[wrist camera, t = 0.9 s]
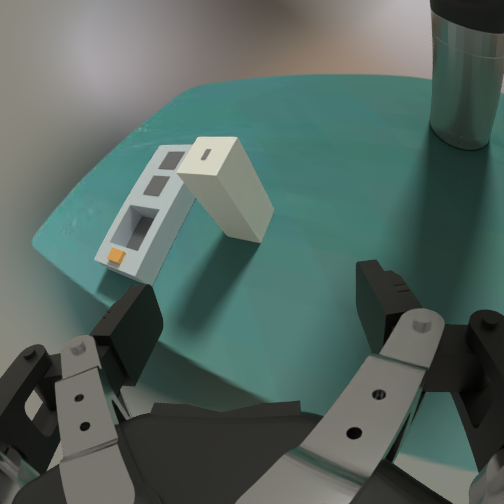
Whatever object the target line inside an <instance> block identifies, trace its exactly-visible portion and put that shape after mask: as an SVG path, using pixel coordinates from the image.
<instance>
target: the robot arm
mask: <svg viewBox="0 0 504 504" xmlns="http://www.w3.org/2000/svg"><path fill="white" fill-rule="evenodd" d="M430 7H431V20H432V43H433V72H432V97H431V112H430V124H431V127H432V129H433V130H434V132H435V133H436V134H437V135H438V136H439V137H440V138H441V139H442V140H443V141H445V142H447V143H448V144H450V145H452V146H455V147H457V148H461V149H466V150H476V149H480V148H482V147H484V146H485V145H486V144H487V143H488V141H489V138H490V135H491V131H492V127H493V123H494V119H495V115H496V111H497V107H498V102H499V97H500V92H501V87H502V80H503V75H504V0H430ZM356 306H357V312H358V315H359V318H360V321H361V323H362V326H363V329H364V331H365V334H366V337H367V340H368V343H369V345H370V348H371V351H372V353H371V354H370V355H369V356H368V357H367V359H366V360H365V362H364V363H363V364H362V366H361V367H360V369H359V370H358V372H357V373H356V375H355V376H354V377H353V379H352V380H351V382H350V383H349V384H348V386H347V387H346V388H345V390H344V391H343V392H342V394H341V395H340V396H339V398H338V399H337V400H336V402H335V403H334V404H333V406H332V407H331V408H330V410H329V411H328V412H327V413H326V415H325V416H321V415H318V414H314V413H309V412H301V407H300V401H291V402H278V403H262V404H258V405H253V406H250V407H245V408H240V409H236V410H231V411H226V412H217V411H213V410H208V409H204V408H199V407H195V406H191V405H187V404H168V403H167V404H165V403H154V405H153V408H152V410H151V413H147V414H142V415H139V416H136V417H132V415H131V412H130V410H129V407H128V405H127V402H126V400H125V397H124V395H123V393H122V391H121V390H120V389H121V387H122V386H123V385H124V386H135V385H136V383H137V381H138V379H139V377H140V375H141V373H142V371H143V369H144V367H145V365H146V363H147V361H148V358H149V356H150V355H151V353H152V351H153V349H154V347H155V344H156V343H157V341H158V339H159V337H160V335H161V333H162V330H163V317H162V314H161V311H160V308H159V305H158V302H157V299H156V296H155V293H154V290H153V288H152V286H151V285H150V284H142V285H132V286H131V287H130V288H129V289H128V291H127V292H126V293H125V294H124V296H123V297H122V298H121V299H120V300H118V301H117V302H116V303H114V304H113V305H112V306H111V308H110V309H109V310H108V311H107V313H106V314H105V315H104V317H103V319H101V320H100V322H99V323H98V324H97V325H96V327H95V328H94V329H93V331H92V332H91V333H90V335H89V336H88V335H83V336H78V337H76V338H74V339H72V340H70V341H68V342H67V343H66V344H65V345H64V346H63V348H62V350H61V353H59V354H54V355H49V354H48V353H47V351H46V349H45V348H44V346H43V345H39V344H37V345H33V346H30V347H28V348H26V349H25V350H24V351H22V352H21V353H20V354H19V356H18V357H17V358H16V359H15V360H14V362H13V363H12V364H11V366H10V367H9V368H8V369H7V371H6V372H5V373H4V375H3V376H2V377H1V378H0V504H453V503H451V502H450V501H448V500H447V499H445V498H443V497H442V496H440V495H439V494H437V493H436V492H434V491H432V490H431V489H430V488H428V487H427V486H425V485H424V484H422V483H421V482H419V481H417V480H416V479H414V478H413V477H412V476H410V475H409V474H407V473H406V472H404V471H403V470H402V469H400V468H399V467H397V466H396V465H395V464H393V463H394V461H395V459H396V457H397V455H398V453H399V451H400V449H401V447H402V445H403V443H404V441H405V439H406V437H407V434H408V432H409V430H410V428H411V426H412V424H413V422H414V420H415V418H416V416H417V414H418V411H419V409H420V407H421V405H422V402H423V400H424V398H425V395H426V393H427V392H450V393H451V395H452V397H453V400H454V403H455V405H456V408H457V410H458V413H459V415H460V418H461V421H462V424H463V426H464V429H465V432H466V435H467V438H468V441H469V444H470V447H471V450H472V453H473V456H474V459H475V462H476V465H477V469H478V472H479V474H478V475H477V476H476V477H475V479H474V480H473V481H472V483H471V485H470V489H469V504H504V316H503V315H502V314H500V313H498V312H496V311H492V310H479V311H476V312H474V313H473V314H472V315H471V316H470V319H469V323H468V325H450V324H445V322H444V319H443V318H442V316H441V315H439V314H438V313H437V312H435V311H432V310H429V309H423V308H422V306H421V305H420V303H419V302H418V300H417V299H416V297H415V296H414V294H413V293H412V292H411V291H410V289H409V287H408V286H407V285H406V283H405V282H404V280H403V279H402V278H401V276H399V275H398V274H396V273H394V272H393V271H391V270H390V271H384V270H383V269H382V267H381V266H380V264H379V263H378V261H377V260H368V261H360V262H357V263H356ZM33 390H35V392H36V393H37V394H38V396H39V397H40V399H41V400H42V401H43V403H42V405H41V407H40V408H39V410H38V412H37V414H36V415H35V417H34V419H33V420H32V421H31V420H30V419H29V417H28V416H27V415H26V412H25V407H24V406H25V402H26V401H27V399H28V397H29V396H30V394H31V393H32V391H33ZM60 440H61V444H62V449H63V459H62V460H61V461H60V464H58V465H56V466H55V467H53V468H51V469H50V470H48V471H47V468H48V466H49V464H50V462H51V459H52V457H53V455H54V453H55V451H56V449H57V447H58V445H59V443H60ZM46 471H47V472H46Z"/></svg>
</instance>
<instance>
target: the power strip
mask: <svg viewBox="0 0 504 504" xmlns="http://www.w3.org/2000/svg"><path fill="white" fill-rule="evenodd" d="M192 146H193V145H160V146H159V148H158V149H157V151H156V152H155V154H154V155H153V157H152V159H151V160H150V162H149V163H148V165H147V166H146V168H145V169H144V171H143V173H142V174H141V176H140V177H139V179H138V181H137V182H136V184H135V186H134V187H133V189H132V191H131V192H130V194H129V196H128V197H127V199H126V201H125V203H124V204H123V206H122V208H121V210H120V211H119V213H118V215H117V217H116V218H115V220H114V222H113V224H112V226H111V228H110V229H109V231H108V233H107V235H106V237H105V239H104V241H103V243H102V245H101V247H100V249H99V251H98V252H97V254H96V256H95V258H94V260H95V261H97V262H98V263H100V264H101V265H103V266H104V267H106V268H108V269H109V270H111V271H114V272H116V273H118V274H121V275H123V276H126V277H128V278H130V279H133V280H135V281H138V282H140V283H143V284H150V285H151V286H153V284H154V282H155V280H156V277H157V275H158V273H159V271H160V269H161V267H162V265H163V263H164V261H165V258H166V256H167V254H168V252H169V250H170V248H171V246H172V244H173V242H174V240H175V238H176V236H177V234H178V232H179V230H180V228H181V226H182V224H183V222H184V220H185V218H186V216H187V214H188V212H189V210H190V209H191V207H192V205H193V203H194V201H195V199H196V197H195V196H194V195H193V193H192V192H191V191H190V190H189V188H188V187H187V186H186V185H185V183H184V182H183V181H182V180H181V178H180V177H179V176H178V175H177V173H176V172H177V170H178V169H179V167H180V165H181V164H182V162H183V160H184V159H185V157H186V155H187V154H188V152H189V151H190V149H191V147H192Z"/></svg>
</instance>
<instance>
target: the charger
mask: <svg viewBox="0 0 504 504" xmlns="http://www.w3.org/2000/svg"><path fill="white" fill-rule="evenodd" d="M176 173H177V175H178V176H179V177H180V178H181V180H182V181H183V182H184V183H185V185H186V186H187V187H188V188H189V190H190V191H191V192H192V193H193V195H194V196H195V197H196V198H197V199H198V201H199V202H200V203H201V204H202V206H203V207H204V208H205V209H206V211H207V212H208V213H209V214H210V216H211V217H212V218H213V219H214V221H215V222H216V223H217V224H218V226H219V227H220V228H221V229H222V230H223V232H224V233H225V234H226V235H227V236H228V237H233V238H237V239H242V240H247V241H252V242H257V243H261V242H262V240H263V238H264V235H265V233H266V230H267V228H268V225H269V223H270V220H271V218H272V215H273V213H274V208H273V206H272V204H271V202H270V200H269V198H268V196H267V194H266V192H265V190H264V188H263V186H262V184H261V182H260V180H259V178H258V176H257V174H256V172H255V170H254V168H253V166H252V164H251V162H250V160H249V158H248V156H247V154H246V152H245V150H244V148H243V147H242V145H241V143H240V141H239V139H238V137H198V138H197V139H196V141H195V143H194V144H193V146H192V147H191V149H190V151H189V152H188V154H187V155H186V157H185V159H184V160H183V162H182V164H181V165H180V167H179V169H178V170H177V172H176Z"/></svg>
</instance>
